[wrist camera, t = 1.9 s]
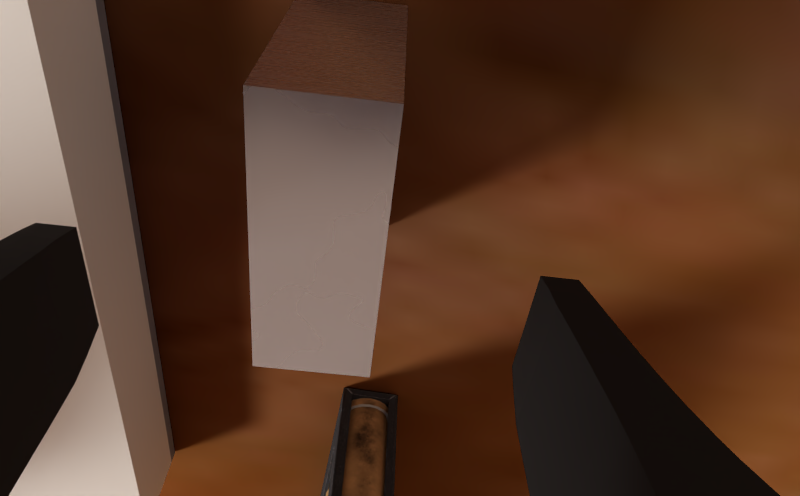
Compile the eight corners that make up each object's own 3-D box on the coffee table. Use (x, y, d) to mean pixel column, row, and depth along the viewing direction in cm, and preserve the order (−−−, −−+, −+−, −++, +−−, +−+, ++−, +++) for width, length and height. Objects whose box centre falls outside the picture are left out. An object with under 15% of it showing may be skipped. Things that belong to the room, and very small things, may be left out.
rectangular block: (295, 218, 17) (252, 366, 13) (299, -9, 14) (242, 85, 9) (381, 227, 17) (369, 377, 13) (408, 5, 14) (404, 103, 9)
